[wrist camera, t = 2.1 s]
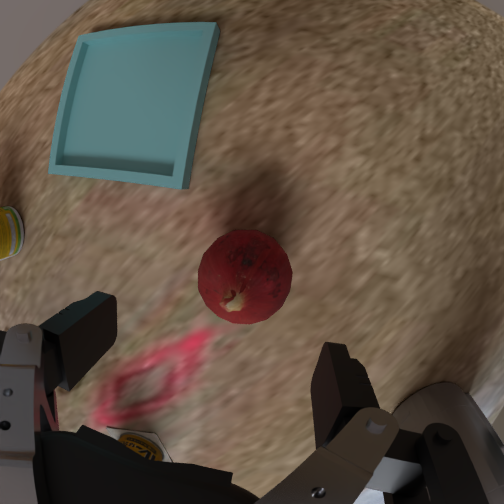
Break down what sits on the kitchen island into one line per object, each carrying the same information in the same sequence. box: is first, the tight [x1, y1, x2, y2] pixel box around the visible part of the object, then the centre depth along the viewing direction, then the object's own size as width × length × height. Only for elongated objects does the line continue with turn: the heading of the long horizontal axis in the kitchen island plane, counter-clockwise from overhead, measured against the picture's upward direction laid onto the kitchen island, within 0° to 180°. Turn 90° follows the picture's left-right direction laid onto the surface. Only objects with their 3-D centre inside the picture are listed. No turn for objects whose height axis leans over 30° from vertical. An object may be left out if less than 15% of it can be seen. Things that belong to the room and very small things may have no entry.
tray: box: [48, 22, 220, 189], centre depth 20 cm, size 13×13×2 cm
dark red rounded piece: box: [198, 230, 293, 324], centre depth 19 cm, size 6×6×8 cm
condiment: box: [106, 428, 172, 462], centre depth 24 cm, size 7×8×12 cm
